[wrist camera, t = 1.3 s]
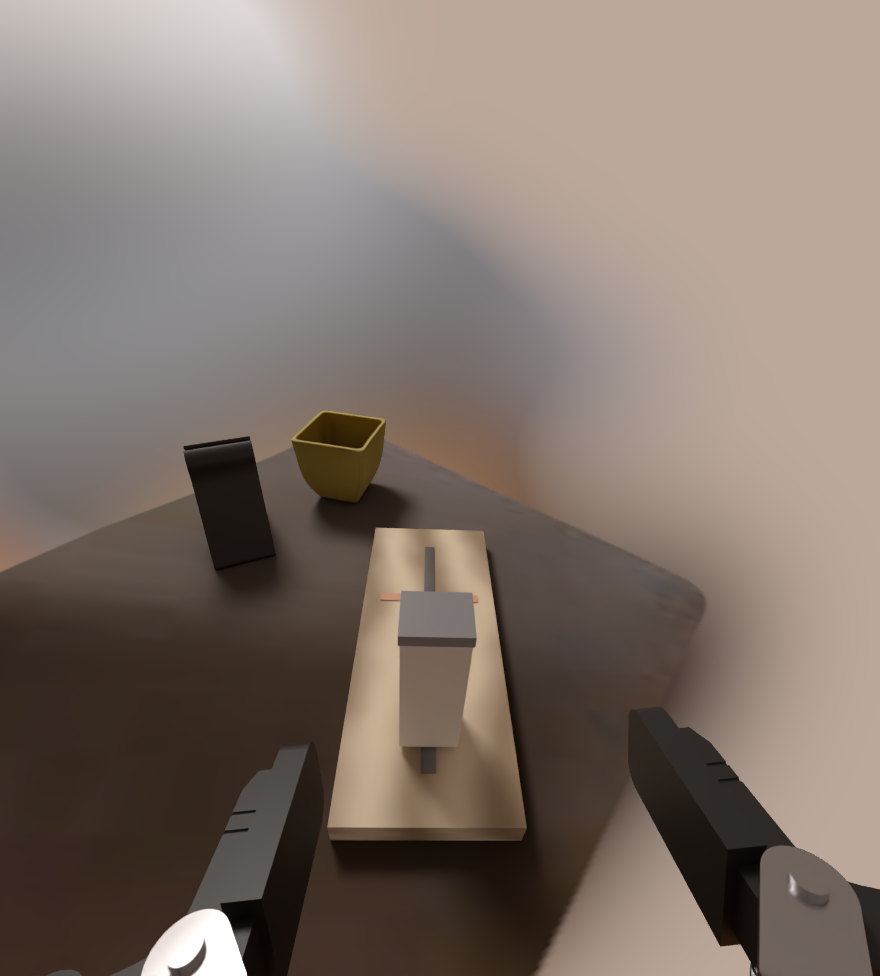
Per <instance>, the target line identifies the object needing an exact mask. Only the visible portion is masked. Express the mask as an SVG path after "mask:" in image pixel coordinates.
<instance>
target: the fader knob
mask: <svg viewBox="0 0 880 976" xmlns="http://www.w3.org/2000/svg"><path fill="white" fill-rule="evenodd" d="M476 640H477V635H476V624H475V614H474V604H473V594H472V593H468V592H430V591H401V599H400V612H399V625H398V646H400V674H399V746H407V747H458V744H459V738H460V731H461V724H462V718H463V711H464V705H465V698H466V691H467V685H468V678H469V672H470V665H471V658H472V652H473V648H475V647H476Z"/></svg>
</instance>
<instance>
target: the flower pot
mask: <svg viewBox="0 0 880 976" xmlns="http://www.w3.org/2000/svg"><path fill="white" fill-rule="evenodd" d="M385 424H386V420H385V419H380V418H374V417H366V416H359V415H352V414H346V413H339V412H332V411H322V412H320V413H319V414H318V415H316V416H315V417H314V418H313V419H312V420H311V421H310V422H309V423H308V424H307V425H306V426H305V427H304V428H303V429H301V430H300V431H299V432H298V433H297V434H296V435H295V436H294V437H293V438H292V444H293V447H294V451H295V454H296V457H297V461H298V464H299V467H300V470H301V473H302V475H303V477H304V479H305V480H306V482H307V483H308V485H309V486H310V487H311V488H312V489H313V490H314V491H315V492H316V493H317V494H318V495H319V496H321V497H325V498H331V499H337V500H343V501H348V502H358V501H359V499H360V498H361V496H362V495H363V493H364V491H365V490H366V488H367V487H368V485H369V484H370V482H371V481H372V479H373V477H374V475H375V473H376V471H377V469H378V467H379V464H380V461H381V457H382V452H383V443H384V434H385Z"/></svg>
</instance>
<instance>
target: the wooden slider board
mask: <svg viewBox="0 0 880 976" xmlns="http://www.w3.org/2000/svg"><path fill="white" fill-rule="evenodd" d="M401 591H430V592H468V593H472V594H473V604H474V614H475V624H476V635H477V640H476V647H475V648H473V652H472V658H471V665H470V672H469V678H468V685H467V691H466V698H465V705H464V711H463V718H462V724H461V731H460V738H459V744H458V747H407V746H399V674H400V646H398V625H399V612H400V599H401ZM327 828H328V832H329V837H330V840H444V841H522V838H523V836H524V834H525V831H526V829H527V827H526V820H525V813H524V806H523V799H522V792H521V786H520V779H519V772H518V765H517V758H516V751H515V744H514V738H513V731H512V724H511V717H510V710H509V703H508V696H507V690H506V683H505V676H504V669H503V662H502V655H501V648H500V642H499V635H498V628H497V621H496V614H495V607H494V601H493V594H492V587H491V580H490V573H489V566H488V559H487V553H486V546H485V539H484V532H483V531H464V530H432V529H401V528H376V529H375V535H374V541H373V548H372V554H371V560H370V566H369V572H368V579H367V585H366V591H365V597H364V603H363V610H362V616H361V622H360V628H359V634H358V641H357V647H356V653H355V659H354V666H353V672H352V678H351V684H350V690H349V697H348V703H347V709H346V715H345V721H344V728H343V734H342V740H341V746H340V752H339V759H338V765H337V771H336V777H335V783H334V790H333V796H332V802H331V808H330V814H329V821H328V827H327Z"/></svg>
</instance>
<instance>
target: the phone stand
mask: <svg viewBox="0 0 880 976" xmlns="http://www.w3.org/2000/svg"><path fill="white" fill-rule="evenodd" d="M184 449H185V451H184V456H185V461H186V465H187V468H188V472H189V474H190V478H191V481H192V485H193V488H194V492H195V496H196V500H197V504H198V507H199V511H200V515H201V519H202V523H203V526H204V530H205V534H206V538H207V542H208V545H209V549H210V553H211V557H212V561H213V564H214V568H215V570H217V569H221V568H225V567H229V566H233V565H237V564H241V563H245V562H249V561H253V560H257V559H261V558H265V557H269V556H273V555H276V554H275V549H274V545H273V540H272V536H271V531H270V526H269V522H268V517H267V513H266V508H265V504H264V499H263V494H262V490H261V485H260V481H259V476H258V471H257V467H256V462H255V457H254V452H253V448H252V444H251V441H250V437H249V436H248V437H241V438H234V439H228V440H221V441H215V442H208V443H201V444H195V445H188V446H184Z"/></svg>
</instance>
